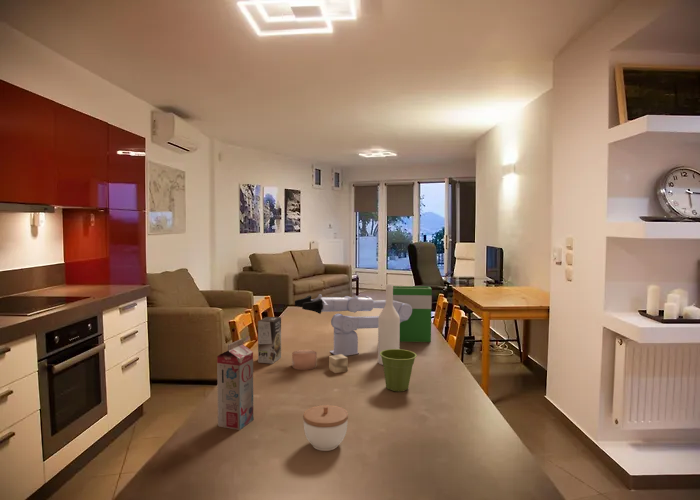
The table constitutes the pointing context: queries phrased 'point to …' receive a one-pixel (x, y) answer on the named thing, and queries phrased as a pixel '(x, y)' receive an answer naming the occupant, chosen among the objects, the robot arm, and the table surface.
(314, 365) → the salmon pink cylinder
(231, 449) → the table surface
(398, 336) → the bottle
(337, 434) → the lidded jar
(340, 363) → the maple cube
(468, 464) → the table surface
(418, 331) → the hardback book
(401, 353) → the plant pot
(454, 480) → the table surface
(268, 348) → the coffee box
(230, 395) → the juice carton
